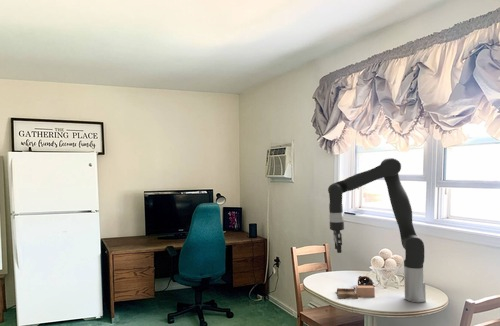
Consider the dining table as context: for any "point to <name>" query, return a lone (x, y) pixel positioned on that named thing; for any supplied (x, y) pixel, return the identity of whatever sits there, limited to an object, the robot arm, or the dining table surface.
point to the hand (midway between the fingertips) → (338, 250)
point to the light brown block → (365, 291)
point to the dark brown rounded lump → (365, 281)
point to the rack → (346, 293)
